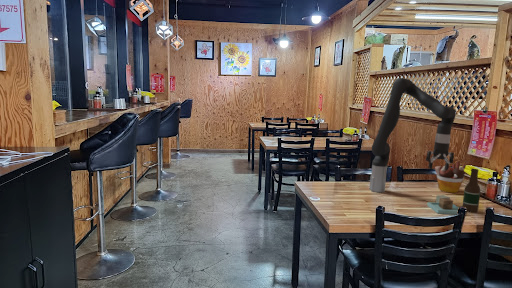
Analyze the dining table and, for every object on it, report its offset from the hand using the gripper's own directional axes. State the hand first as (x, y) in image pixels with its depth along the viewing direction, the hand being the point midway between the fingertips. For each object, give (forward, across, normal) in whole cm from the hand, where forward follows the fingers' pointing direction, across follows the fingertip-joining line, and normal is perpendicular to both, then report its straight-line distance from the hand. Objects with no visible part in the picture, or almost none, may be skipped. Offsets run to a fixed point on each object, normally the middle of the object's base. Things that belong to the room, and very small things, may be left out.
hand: (438, 169), depth 200 cm
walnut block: (+20, +3, -8) cm, 22 cm away
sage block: (+22, +6, +3) cm, 23 cm away
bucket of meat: (+22, +25, +36) cm, 49 cm away
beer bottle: (+21, +17, -7) cm, 28 cm away
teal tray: (+21, +3, -8) cm, 23 cm away
